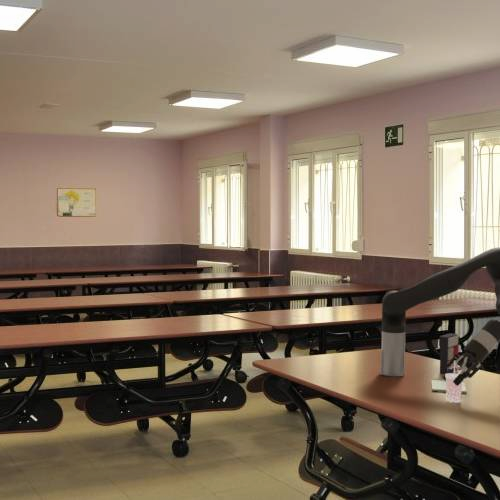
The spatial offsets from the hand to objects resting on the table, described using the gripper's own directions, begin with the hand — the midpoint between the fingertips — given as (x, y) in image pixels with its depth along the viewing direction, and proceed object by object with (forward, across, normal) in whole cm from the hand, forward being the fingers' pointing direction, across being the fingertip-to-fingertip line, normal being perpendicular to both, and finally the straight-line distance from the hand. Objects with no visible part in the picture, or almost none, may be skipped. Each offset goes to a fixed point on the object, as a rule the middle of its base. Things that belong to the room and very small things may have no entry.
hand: (449, 381), depth 248 cm
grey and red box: (-14, +42, -24) cm, 50 cm away
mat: (-3, +19, -13) cm, 23 cm away
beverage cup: (+4, 0, -6) cm, 7 cm away
